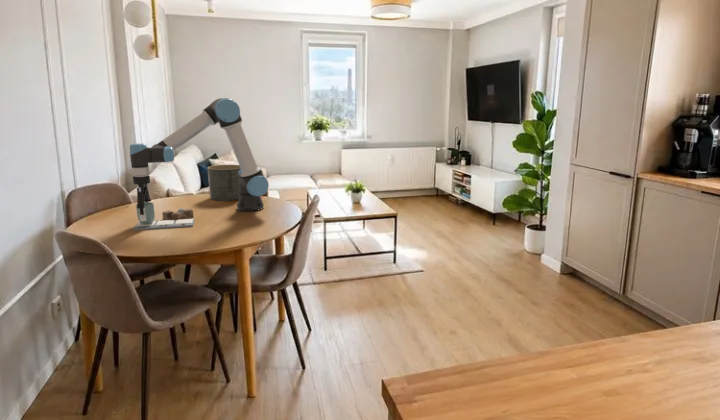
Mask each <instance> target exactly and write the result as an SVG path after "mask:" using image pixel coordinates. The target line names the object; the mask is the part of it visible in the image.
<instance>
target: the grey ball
mask: <svg viewBox="0 0 720 420" xmlns="http://www.w3.org/2000/svg"><path fill="white" fill-rule="evenodd" d="M184 210H185V208H179V209H178V210H177V212H183V216H184Z"/></svg>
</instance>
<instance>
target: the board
mask: <svg viewBox="0 0 720 420" xmlns="http://www.w3.org/2000/svg"><path fill="white" fill-rule="evenodd" d="M194 224H195V218H183V219H181V220H172V219H171V220H164V219H163V220H154V221H153V222H152V223H151V224H141V223H140V222H139V221H137V223H136V224H135V225H134V227H133V231H146V230H147V231H149V230H160V229H161V230H162V229H176V228H177V229H178V228H179V229H180V228H193V227H194Z"/></svg>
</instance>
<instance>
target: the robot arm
mask: <svg viewBox="0 0 720 420" xmlns="http://www.w3.org/2000/svg"><path fill="white" fill-rule="evenodd" d="M201 111H202V112H201V113H200V114H198V115H197V116H195V117H194V118H193V119H191V120H190V121H188V122H187V123H186V124H183V126H181V127H180V128H177V130H175V131H174V132H172V133H171V134H169V135H168V136H166V137H165V138H163V139H162V140H161V141H159V142H158V143H155V144H153V145H152V146H151V147H148V146H147V144H146V143H131V144H130V145H129V157H130V165H131V169H130V171H131V173H132V176H133V177H132V183H133V185H138V186H137V187H136V191H137V193H136V194H137V196H136V197H137V199H136V200H137V202H136V203H137V204H136V205H137V209H138V208H139V217H140V221H146V213H145V208H144V203H145V202H152V199H151V197H150V193H149V192H150V191H149V188H148V184H150V183H151V178H150V177H151V176H150V167H149V164H153V163H169V162H170V163H171V162H174V161H175V153H174V152H175V150H177V149H178V148H180V147H182V146H183V145H184V144H186V143H187V142H188V141H190V140H191V139H193V138H194V137H196V136H198V134H200V133H201V132H203V131H204V130H206V129H208V128H209V127H210V126H215V125H216V124H218V125H219V127H220V128H221V129H222V130H223V131H225V133H226V136H227V139H228V141H229V144H230V145H231V148H232V150H233V153H234V155H235V158H236V160H237V163H238V165H239V166H240V168H241V170H239V172H238V179H239V195H240V196H239V200H237V204H236V209H237V210H238V211H240V210H242V211H241V212H254V211H253V210H257V211H259V210H258V209H261V208H263V207H265V205H264V202H263V200H262V197H261V196H263V195H265V194H266V193H267V192H268V189H269V187H270V186H269V181H268V178H267V177H266V176H265V175H264V173H263V170H262V168H261V167H259V166H258V165H257V163H256V160H255V156H254V155H253V153H252V150H251V148H250V144H249V143H248V140H247V137H246V134H245V132H244V130H243V126H242V122H243V118H242V116H241V108H240V106H239V104H238V103H237V102H236V101H235V100H233V99H232V98H228V97H224V98H222V97H221V98H217V99H215V100H213V101H212V102H211V103H210V104H209V105H208V106H206V107H205V108H204V109H202V110H201ZM137 209H136V210H137ZM263 209H264V208H263ZM261 210H262V209H261Z"/></svg>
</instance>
